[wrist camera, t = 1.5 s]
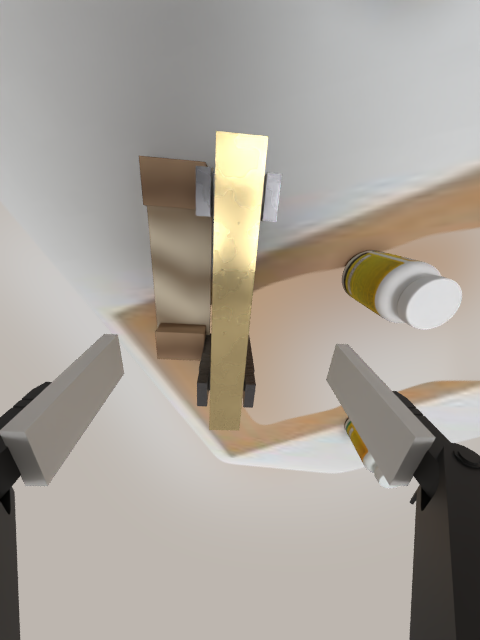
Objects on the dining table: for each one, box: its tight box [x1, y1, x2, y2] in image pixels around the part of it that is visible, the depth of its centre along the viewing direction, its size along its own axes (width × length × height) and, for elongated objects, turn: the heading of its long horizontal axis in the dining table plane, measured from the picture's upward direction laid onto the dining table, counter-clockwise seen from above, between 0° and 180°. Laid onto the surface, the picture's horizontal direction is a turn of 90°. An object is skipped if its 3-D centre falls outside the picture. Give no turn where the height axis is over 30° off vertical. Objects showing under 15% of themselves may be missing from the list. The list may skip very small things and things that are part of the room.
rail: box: [209, 131, 268, 430], centre depth 20 cm, size 24×3×4 cm, turn 176°
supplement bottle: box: [345, 419, 398, 488], centre depth 36 cm, size 5×5×10 cm
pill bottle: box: [342, 251, 462, 330], centre depth 24 cm, size 6×6×11 cm
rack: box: [196, 166, 282, 407], centre depth 24 cm, size 22×6×10 cm, turn 176°
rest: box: [139, 156, 213, 361], centre depth 27 cm, size 22×7×3 cm, turn 176°
